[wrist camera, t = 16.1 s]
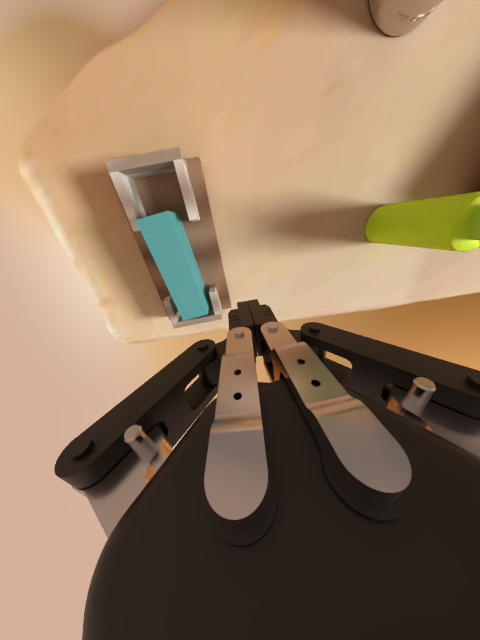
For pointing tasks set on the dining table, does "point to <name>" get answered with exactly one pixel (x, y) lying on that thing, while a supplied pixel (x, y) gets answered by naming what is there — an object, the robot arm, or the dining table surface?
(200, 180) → the grey walled piece
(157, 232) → the teal block
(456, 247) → the soap dispenser
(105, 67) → the dining table surface
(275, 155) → the dining table surface
